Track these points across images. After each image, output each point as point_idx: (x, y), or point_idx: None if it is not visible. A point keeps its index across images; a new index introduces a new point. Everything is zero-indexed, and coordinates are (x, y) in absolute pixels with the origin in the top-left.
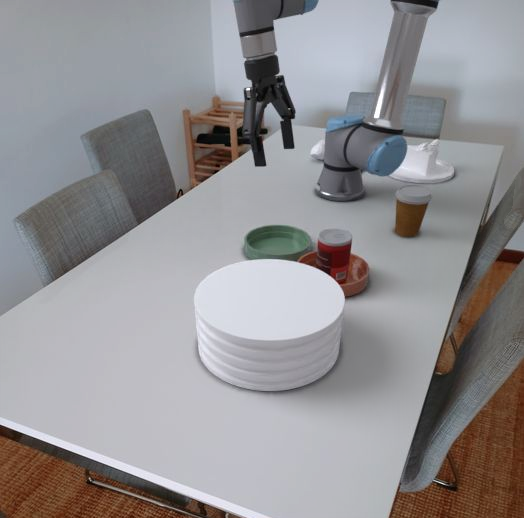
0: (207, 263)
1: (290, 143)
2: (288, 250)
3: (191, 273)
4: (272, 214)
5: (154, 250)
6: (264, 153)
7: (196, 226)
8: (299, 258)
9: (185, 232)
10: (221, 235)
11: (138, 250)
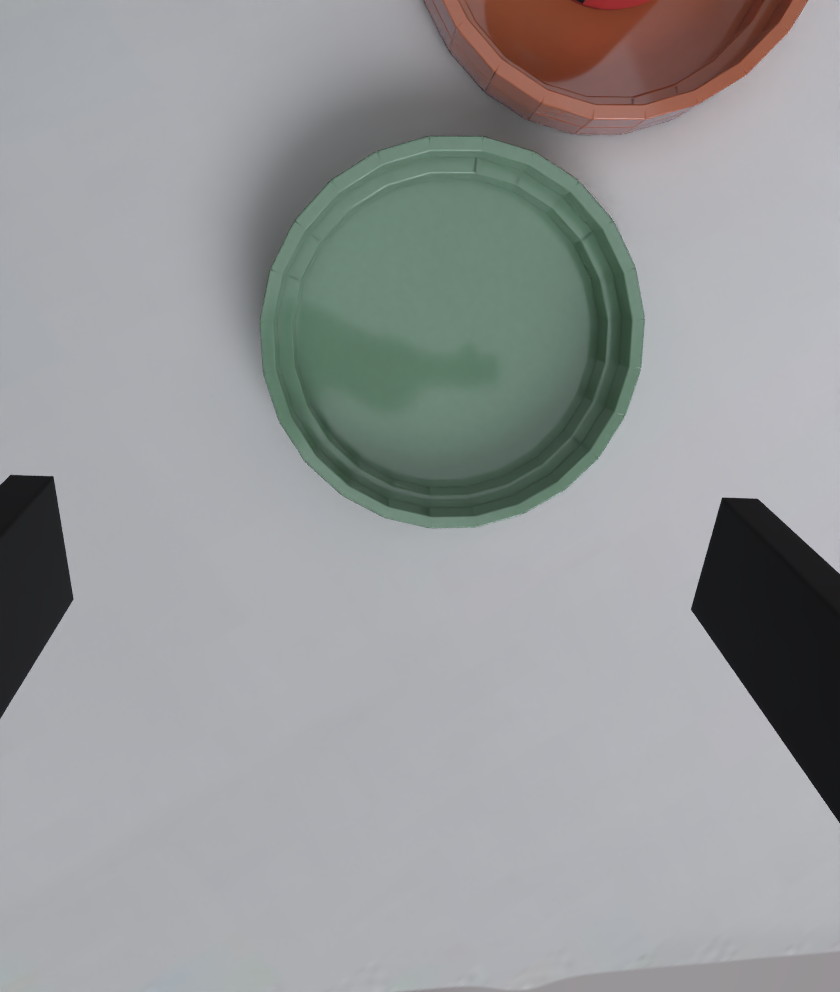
0: None
1: (31, 539)
2: (427, 283)
3: None
4: None
5: (689, 817)
6: (793, 570)
7: (403, 806)
8: (620, 117)
9: (482, 811)
10: (429, 664)
11: (715, 865)
